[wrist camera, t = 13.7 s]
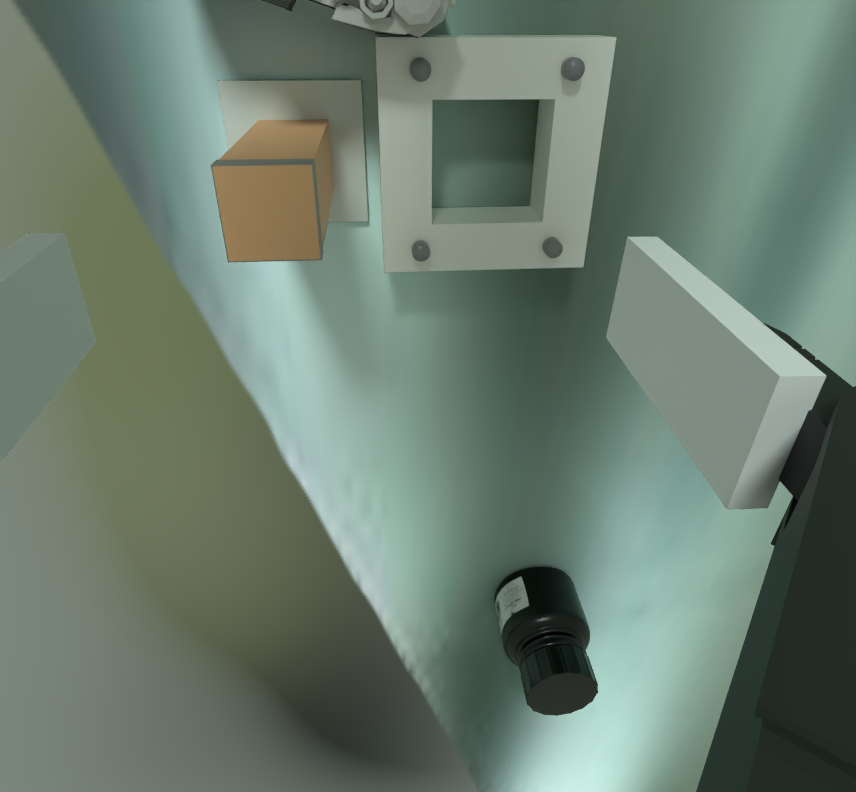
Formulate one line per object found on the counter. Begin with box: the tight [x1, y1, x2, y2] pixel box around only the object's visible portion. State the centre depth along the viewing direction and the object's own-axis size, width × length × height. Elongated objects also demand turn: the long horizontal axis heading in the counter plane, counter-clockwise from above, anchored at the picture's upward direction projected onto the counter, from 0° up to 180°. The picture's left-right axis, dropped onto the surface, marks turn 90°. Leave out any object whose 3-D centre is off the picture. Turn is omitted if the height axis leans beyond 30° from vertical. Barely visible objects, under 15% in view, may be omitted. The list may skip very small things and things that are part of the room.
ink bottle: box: [494, 567, 598, 716], centre depth 62 cm, size 10×9×12 cm
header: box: [375, 35, 616, 273], centre depth 40 cm, size 14×14×5 cm
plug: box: [211, 119, 334, 262], centre depth 35 cm, size 5×5×14 cm
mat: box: [217, 80, 368, 222], centre depth 41 cm, size 9×9×1 cm
